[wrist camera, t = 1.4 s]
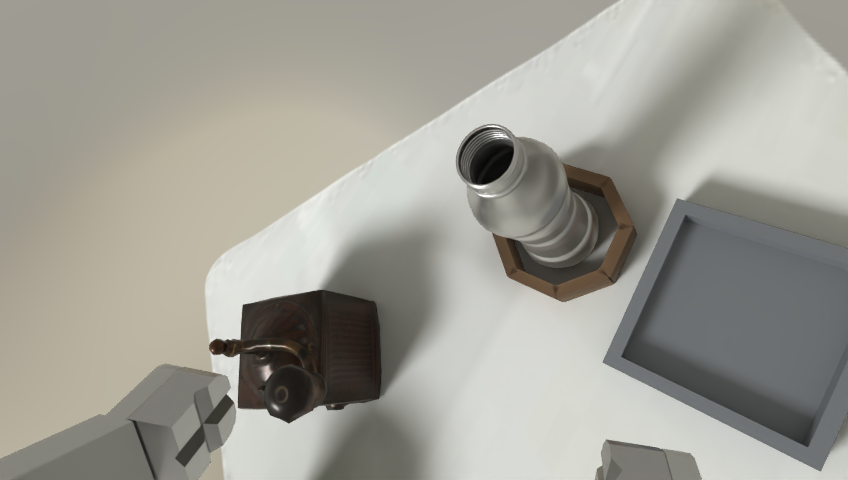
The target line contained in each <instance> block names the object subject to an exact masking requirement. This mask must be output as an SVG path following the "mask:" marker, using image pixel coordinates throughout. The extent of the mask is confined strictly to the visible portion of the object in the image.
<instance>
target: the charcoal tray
mask: <svg viewBox="0 0 848 480" xmlns="http://www.w3.org/2000/svg"><path fill="white" fill-rule="evenodd" d="M603 363H605V364H607V365H609V366H611V367H613V368H615V369H617V370H619V371H621V372H623V373H625V374H627V375H629V376H631V377H633V378H635V379H637V380H639V381H641V382H643V383H645V384H647V385H649V386H651V387H653V388H655V389H657V390H659V391H661V392H663V393H665V394H667V395H669V396H671V397H673V398H675V399H677V400H679V401H681V402H683V403H685V404H687V405H689V406H691V407H693V408H695V409H697V410H699V411H701V412H703V413H705V414H707V415H709V416H711V417H713V418H715V419H717V420H719V421H721V422H723V423H725V424H727V425H729V426H731V427H733V428H735V429H737V430H739V431H741V432H743V433H745V434H747V435H749V436H751V437H753V438H755V439H757V440H759V441H761V442H763V443H765V444H767V445H769V446H771V447H773V448H775V449H777V450H779V451H781V452H783V453H785V454H787V455H789V456H791V457H793V458H795V459H797V460H799V461H801V462H803V463H805V464H807V465H809V466H811V467H813V468H815V469H817V470H819V471H821V470H822V468H823V465H824V463H825V461H826V459H827V457H828V454H829V452H830V450H831V448H832V446H833V443H834V441H835V439H836V437H837V435H838V432H839V430H840V428H841V426H842V424H843V421H844V419H845V417H846V415H847V413H848V248H845V247H842V246H838V245H835V244H831V243H828V242H824V241H821V240H818V239H814V238H811V237H807V236H804V235H801V234H797V233H794V232H790V231H787V230H783V229H780V228H777V227H773V226H770V225H766V224H763V223H759V222H756V221H753V220H749V219H746V218H742V217H739V216H736V215H732V214H729V213H725V212H722V211H718V210H715V209H712V208H708V207H705V206H701V205H698V204H695V203H691V202H688V201H684V200H681V199H677V200H676V202H675V204H674V206H673V209H672V211H671V213H670V215H669V217H668V220H667V222H666V224H665V226H664V228H663V231H662V233H661V235H660V237H659V239H658V242H657V244H656V246H655V248H654V250H653V253H652V255H651V257H650V259H649V261H648V264H647V266H646V268H645V270H644V272H643V275H642V277H641V279H640V281H639V283H638V286H637V288H636V290H635V292H634V294H633V297H632V299H631V301H630V303H629V305H628V308H627V310H626V312H625V314H624V316H623V319H622V321H621V323H620V325H619V327H618V330H617V332H616V334H615V336H614V338H613V341H612V343H611V345H610V347H609V349H608V352H607V354H606V356H605V358H604V360H603Z"/></svg>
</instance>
